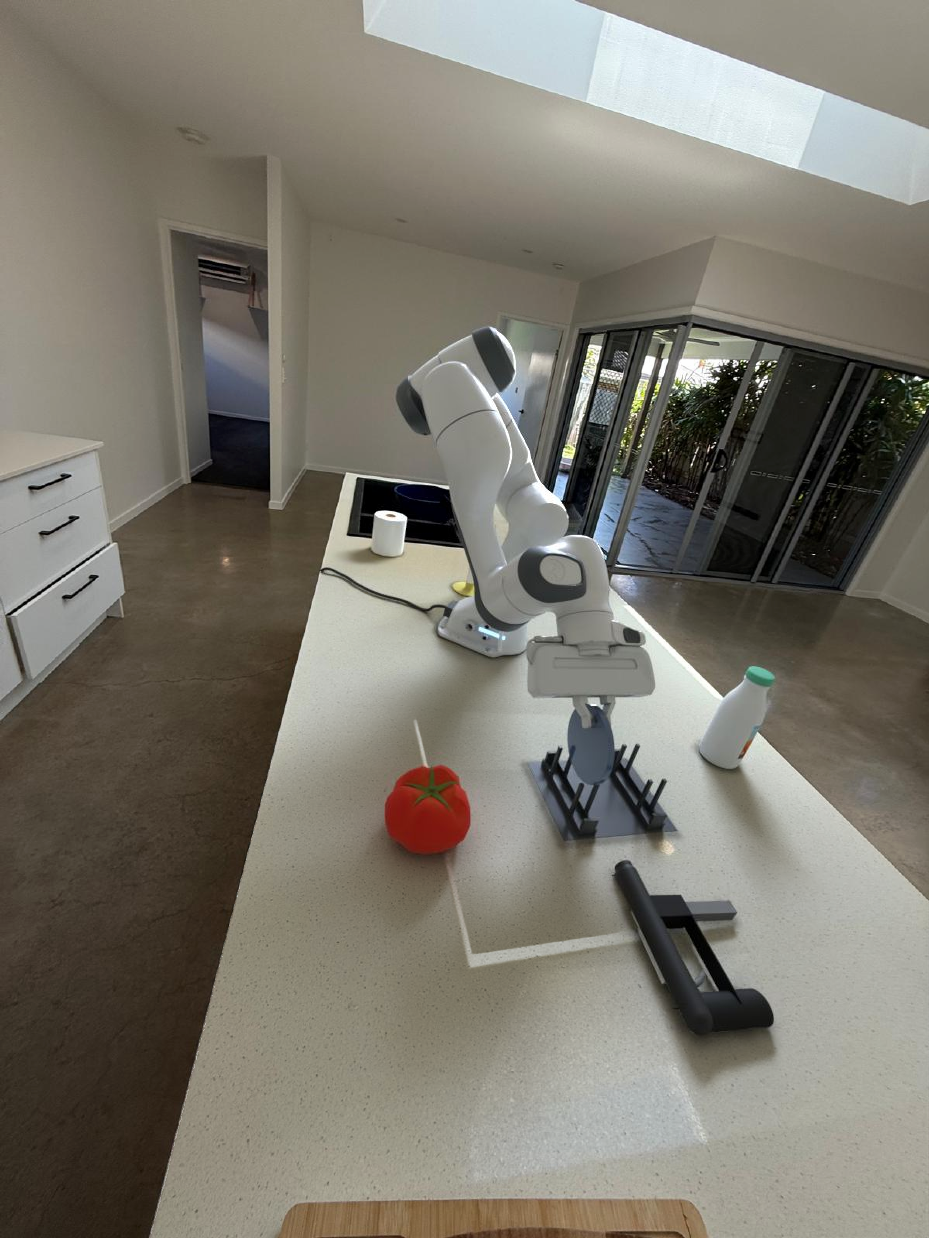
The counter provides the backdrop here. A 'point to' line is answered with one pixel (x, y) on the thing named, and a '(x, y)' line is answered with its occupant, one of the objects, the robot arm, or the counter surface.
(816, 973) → the counter surface
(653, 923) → the door handle
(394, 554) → the toilet paper
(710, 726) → the milk bottle
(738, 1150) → the counter surface
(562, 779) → the rack
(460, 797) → the tomato
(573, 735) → the plate
